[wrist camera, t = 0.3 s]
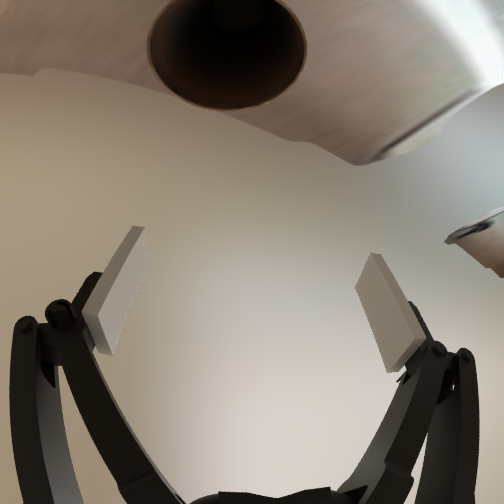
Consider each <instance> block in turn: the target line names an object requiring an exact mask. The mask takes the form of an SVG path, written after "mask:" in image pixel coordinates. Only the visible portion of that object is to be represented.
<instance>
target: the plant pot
mask: <svg viewBox="0 0 504 504" xmlns="http://www.w3.org/2000/svg"><path fill="white" fill-rule="evenodd" d="M219 10H220V11H221V14H219V13H218V11H219ZM246 22H250V25H247V24H246ZM306 57H307V41H306V36H305V33H304V30H303V27H302V25H301V23H300V21H299V20H298V18H297V17H296V15H295V14H294V13H293V12H292V10H291V9H290V8H289V7H288V6H287V5H286V4H284V3H283V2H282V1H281V0H172V1H171V2H170V3H168V4H167V5H166V6H165V7H164V8H163V9H162V10H161V12H160V13H159V14H158V15H157V17H156V18H155V20H154V22H153V23H152V26H151V28H150V30H149V34H148V38H147V58H148V61H149V65H150V67H151V70H152V72H153V74H154V75H155V77H156V78H157V80H158V81H159V82H160V84H161V85H162V86H163V87H164V88H165V89H166V90H168V91H169V92H170V93H171V94H173V95H174V96H176V97H177V98H179V99H181V100H183V101H185V102H186V103H189V104H191V105H194V106H197V107H200V108H204V109H209V110H215V111H242V110H247V109H252V108H256V107H259V106H262V105H264V104H267V103H269V102H271V101H273V100H275V99H277V98H278V97H280V96H281V95H283V94H284V93H285V92H287V91H288V90H289V89H290V88H291V87H292V86H293V85H294V83H295V82H296V81H297V79H298V78H299V76H300V75H301V73H302V71H303V68H304V66H305V62H306Z"/></svg>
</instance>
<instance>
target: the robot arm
mask: <svg viewBox="0 0 504 504" xmlns="http://www.w3.org/2000/svg"><path fill="white" fill-rule="evenodd" d="M147 268H148V257H147V246H146V233H145V227H139V226H132V228H131V229H130V231H129V232H128V234H127V235H126V237H125V238H124V240H123V242H122V243H121V244H120V246H119V248H118V249H117V251H116V252H115V254H114V256H113V257H112V259H111V261H110V262H109V264H108V266H107V267H106V269H105V270H104V272H103V273H100V272H93V273H92V274H91V275H89V276H88V277H87V278H86V280H85V281H84V283H83V285H82V286H81V288H80V290H79V292H78V293H77V295H76V297H75V298H74V300H73V302H72V303H70V302H69V301H67V300H64V299H59V300H55V301H53V302H51V303H50V304H49V305H48V306H47V308H46V310H45V317H46V319H47V321H48V323H39V324H38V323H37V321H36V319H35V318H34V317H32V316H24V317H22V318H20V319H19V320H18V321H17V322H16V324H15V327H14V331H13V341H12V349H11V362H10V386H9V389H10V390H9V392H10V394H9V397H10V398H9V399H10V423H11V436H12V445H13V453H14V460H15V466H16V471H17V476H18V481H19V486H20V490H21V494H22V498H23V504H84V503H83V499H82V496H81V493H80V490H79V487H78V483H77V480H76V476H75V473H74V469H73V465H72V461H71V457H70V452H69V448H68V443H67V438H66V433H65V427H64V421H63V414H62V406H61V398H60V388H59V378H58V377H59V376H58V366H62V367H63V370H64V373H65V375H66V379H67V381H68V384H69V387H70V389H71V392H72V395H73V397H74V400H75V402H76V405H77V407H78V409H79V412H80V414H81V416H82V419H83V421H84V423H85V425H86V427H87V429H88V431H89V434H90V435H91V438H92V439H93V442H94V443H95V445H96V447H97V449H98V451H99V453H100V455H101V457H102V458H103V460H104V462H105V464H106V465H107V467H108V469H109V470H110V472H111V474H112V475H113V477H114V479H115V480H116V482H117V485H118V489H119V491H120V494H121V495H122V497H123V498H124V500H125V501H126V502H127V504H186V503H185V501H184V500H183V499H182V498H181V497H180V496H179V494H178V493H177V492H176V491H175V490H174V488H173V487H172V486H171V485H170V484H169V483H168V481H167V480H166V479H165V477H164V476H163V475H162V473H161V472H160V471H159V469H158V468H157V467H156V465H155V464H154V462H153V461H152V460H151V458H150V457H149V455H148V454H147V452H146V451H145V449H144V448H143V446H142V445H141V443H140V442H139V440H138V439H137V437H136V435H135V434H134V432H133V431H132V429H131V427H130V425H129V424H128V422H127V420H126V419H125V417H124V415H123V413H122V412H121V410H120V408H119V406H118V404H117V402H116V401H115V399H114V397H113V395H112V393H111V391H110V389H109V387H108V385H107V383H106V381H105V379H104V377H103V375H102V372H101V370H100V368H99V366H98V364H97V361H96V359H95V357H94V355H93V353H92V352H93V349H94V347H95V346H96V348H97V350H98V352H99V353H103V354H107V355H112V356H113V354H114V352H115V349H116V346H117V343H118V340H119V338H120V335H121V332H122V330H123V327H124V324H125V322H126V319H127V317H128V314H129V312H130V309H131V307H132V304H133V301H134V299H135V297H136V294H137V292H138V289H139V287H140V285H141V282H142V280H143V278H144V275H145V273H146V271H147ZM355 288H356V291H357V293H358V296H359V298H360V301H361V303H362V306H363V308H364V310H365V313H366V316H367V318H368V321H369V323H370V326H371V329H372V331H373V334H374V337H375V339H376V342H377V345H378V348H379V351H380V353H381V356H382V359H383V362H384V365H385V368H386V371H387V373H389V372H398V371H399V370H400V369H401V368H402V367H403V366H404V365H405V367H406V371H405V372H404V373H403V374H402V376H401V377H400V378H399V379H398V380H397V381H396V382H399V381H400V380H401V381H400V383H399V386H398V388H397V390H396V393H395V395H394V397H393V400H392V402H391V404H390V406H389V408H388V410H387V413H386V415H385V417H384V419H383V421H382V423H381V425H380V427H379V429H378V430H377V432H376V434H375V436H374V438H373V440H372V442H371V443H370V445H369V447H368V449H367V451H366V452H365V454H364V456H363V458H362V459H361V461H360V462H359V464H358V466H357V467H356V469H355V470H354V472H353V474H352V475H351V476H350V478H349V479H348V480H346V481H345V482H344V483H343V484H342V485H341V486H340V487H339V489H338V490H337V491H333V490H331V489H330V487H324V488H317V489H308V490H303V491H300V492H297V493H294V494H291V495H288V496H284V497H280V498H272V497H266V496H261V495H256V494H252V493H246V492H241V493H240V492H218V494H213V495H209V496H205V497H202V498H199V499H197V500H195V501H193V502H192V503H190V504H404V502H405V500H406V498H407V496H408V494H409V492H410V490H411V488H412V485H413V482H414V478H413V477H412V476H411V472H412V469H413V467H414V465H415V463H416V460H417V458H418V455H419V453H420V450H421V448H422V445H423V443H424V440H425V437H426V435H427V432H428V435H427V443H426V449H425V456H424V462H423V467H422V472H421V478H420V482H419V486H418V490H417V495H416V499H415V504H475V495H474V492H475V485H476V477H477V468H478V456H479V455H478V454H479V396H478V383H477V373H476V365H475V359H474V356H473V354H472V353H471V351H469V350H468V349H466V348H460V349H459V351H458V352H457V353H452V352H448V351H447V349H446V347H445V346H444V345H443V344H442V343H440V342H438V341H434V340H433V338H432V336H431V334H430V332H429V330H428V328H427V326H426V324H425V322H424V321H423V318H422V317H421V315H420V312H419V311H418V309H417V307H416V306H415V305H414V304H413V303H412V302H411V301H407V299H406V297H405V295H404V294H403V292H402V290H401V288H400V286H399V285H398V283H397V281H396V279H395V278H394V276H393V274H392V272H391V271H390V269H389V267H388V266H387V264H386V262H385V261H384V259H383V257H382V256H381V255H380V254H375V253H370V255H369V257H368V260H367V262H366V264H365V267H364V269H363V271H362V273H361V276H360V278H359V280H358V282H357V284H356V287H355ZM453 385H454V390H453Z"/></svg>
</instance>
